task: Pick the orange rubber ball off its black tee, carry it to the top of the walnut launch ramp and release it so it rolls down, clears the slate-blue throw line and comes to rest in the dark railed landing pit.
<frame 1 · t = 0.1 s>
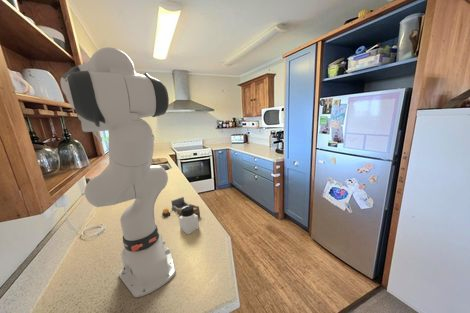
hand: (112, 140, 84), 48 cm above the worktop, fingers open, 8 cm apart
tee: (166, 215, 106), on the worktop
landing pit: (181, 208, 113), on the worktop
medicine bottle: (189, 229, 92), on the worktop
launch ramp: (189, 214, 105), on the worktop
ball: (165, 210, 106), point 3 cm above the worktop, touching tee
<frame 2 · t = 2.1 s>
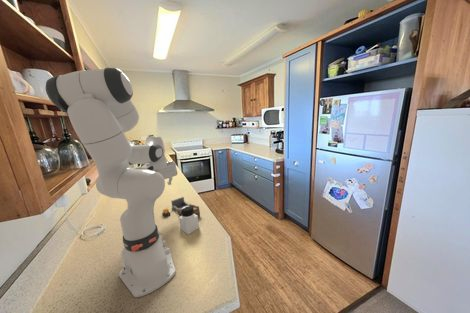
hand: (162, 187, 103), 18 cm above the worktop, fingers open, 8 cm apart
nothing on the worktop moved.
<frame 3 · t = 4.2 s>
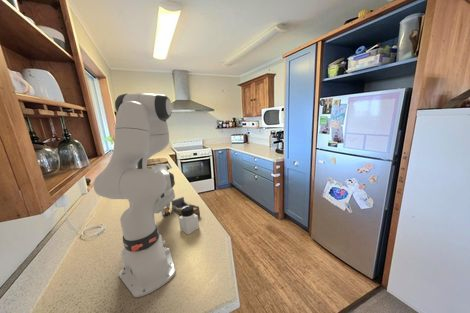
hand: (166, 212, 106), 2 cm above the worktop, fingers closed on ball, 3 cm apart
ball: (165, 210, 106), point 3 cm above the worktop, touching gripper, tee
everything else where it was.
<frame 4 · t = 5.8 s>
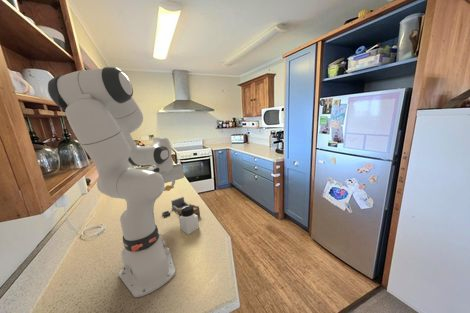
hand: (168, 189, 102), 17 cm above the worktop, fingers closed on ball, 3 cm apart
ball: (168, 188, 101), point 18 cm above the worktop, touching gripper
everything else where it was.
when the fingers open (7 cm above the worktop, at t = 7.8 s): ball drops 6 cm and tips over, resting on landing pit.
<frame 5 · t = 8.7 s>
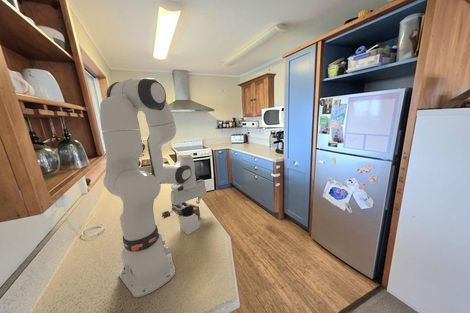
hand: (190, 206, 101), 7 cm above the worktop, fingers open, 8 cm apart
ball: (179, 204, 115), point 2 cm above the worktop, tilted 66°, touching landing pit
everything else where it was.
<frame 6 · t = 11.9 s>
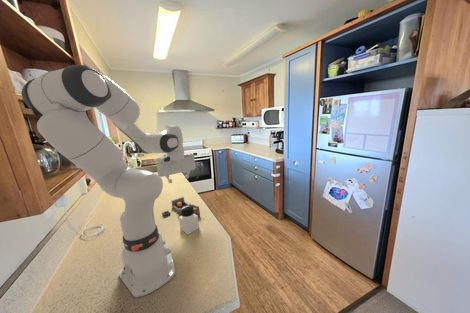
hand: (178, 180, 97), 23 cm above the worktop, fingers open, 8 cm apart
nothing on the worktop moved.
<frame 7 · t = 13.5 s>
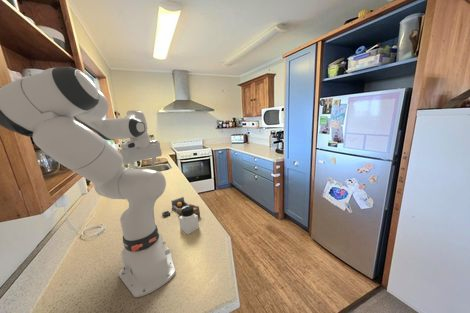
hand: (144, 167, 96), 31 cm above the worktop, fingers open, 8 cm apart
nothing on the worktop moved.
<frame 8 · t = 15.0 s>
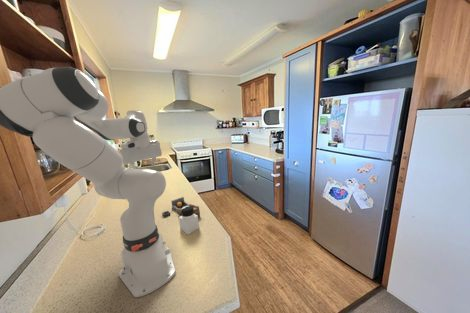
hand: (144, 167, 96), 31 cm above the worktop, fingers open, 8 cm apart
nothing on the worktop moved.
at the end: ball inside the target area on the landing pit (2.3 cm from its centre), point 1.9 cm above the landing pit's base; the gripper is holding nothing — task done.
